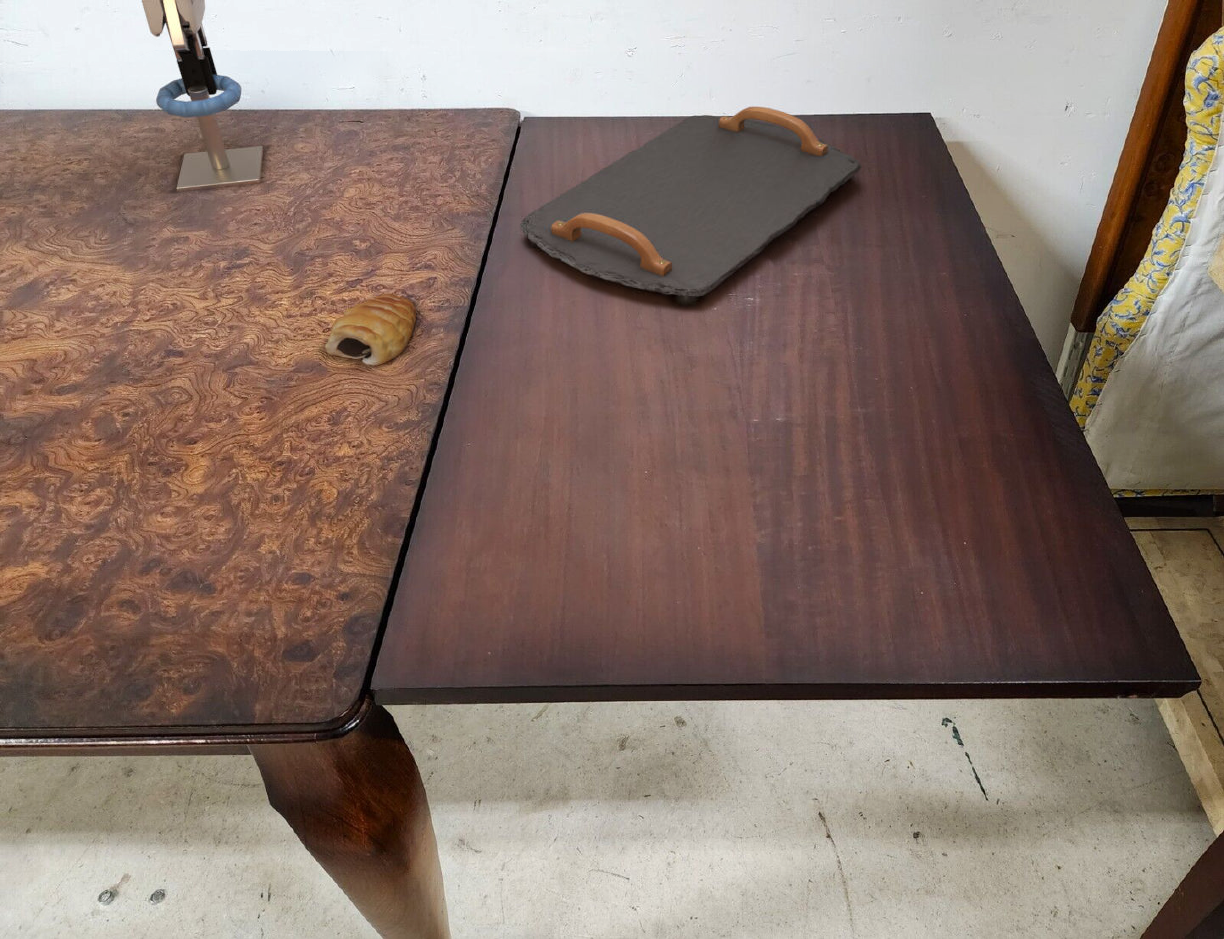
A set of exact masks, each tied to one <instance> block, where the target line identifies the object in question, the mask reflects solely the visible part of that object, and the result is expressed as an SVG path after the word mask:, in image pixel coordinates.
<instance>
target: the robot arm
mask: <svg viewBox="0 0 1224 939" xmlns="http://www.w3.org/2000/svg"><path fill="white" fill-rule="evenodd" d="M141 3H142V8H143V10H144V14H145V17H146V22H147V25H148V28H149V31H150V34H152V35H153V36H154V37H156V38H157V37H159V38H160V36H161V34H163V30H164V29H165V25H166V28H167V29H166V30H167V32H168V35H169V40H170V42H171V46H172V48H173V52H174V55H175V56H174V57H175V59H176V64H177V67H178V70H179V73H180V76H181V78H182V80H183V83H184V86H185V90H186V95H187V96H188V97H190V95H189V92H188V89H189V88H190V87H193V86H197V85H203V86H206V87H207V89H208V93H209V96H213V95H216V94H217V92H218V90H217V88H216V85H215V81H214V78H213V74H215V75H218V72H217V69H216V65H215V61H214V58H213V55H212V51H211V48H210V46H209V44H208V40H207V36H206V32H205V29H204V25H203V20H204V15H205V10H206V1H205V0H141ZM208 46H209V47H208Z"/></svg>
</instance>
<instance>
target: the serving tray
mask: <svg viewBox="0 0 1224 939" xmlns="http://www.w3.org/2000/svg"><path fill="white" fill-rule="evenodd" d="M761 121H763V122H761ZM861 169H862V165H861V162H859V161H858V160H857V159H856V158H855V157H853V155H850V154H847V153H845V152H844V151H842V150H840V149H839V148H838V147H835V146H834V145H831V144H829V143H827V142H826V141H824V140H822V139H818V138H817V137H816V135H815V134H814V132H813V130H812V129H811V128H810V126H809V125H808V124H807V123H806V122H805V121H803V120H802V119H800V118H798V117H796V116H794V115H792V114H790V113H787V112H784V111H781V110H778V109H774V108H771V107H764V106H748V107H745V108H743V109H741V110H740V111H738V112H737V113H735V114H734V115H733V116H726V115H722V116H714V115H710V114H704V115H691V116H689V117H687V118H685V119H684V120H682V121H680V122H679V123H677V124H675V125H673V126H671V127H670V128H668V129H667V130H666V131H663V132H661V133H660V134H658V135H657V136H654V137H653V138H651V139H649V141H647V142H646V143H644V144H643V145H642V146H640V147H638V148H636V149H634V150H632V151H630V152H628V153H627V154H625V155H624V156H622V157H621V158H619V159H618V160H615V161H613V162H612V163H610V165H608V166H606V167H603V168H602V169H600V170H599V171H598V172H596V173H594V174H592V175H591V176H589V177H588V178H587V179H585V180H584V181H581V182H580V183H578V184H576V185H575V186H574V187H572V188H570V189H568V190H566V191H564V192H563V193H562V194H560V195H558V196H557V197H555V198H554V199H551V200H550V201H549V202H546V203H545V204H543V205H542V206H541V207H539V208H538V209H535V210H534V211H532V212H530V213H528V214H527V215H526V216H525V217H524V218H522V220H521V222H520V224H519V228H520V230H521V231H522V233H523V234H524V235H525V237H527V239H528V240H529V241H530V246H531V247H533V248H536V249H540V250H542V251H543V252H544V253H545V254H547V255H548V256H550V257H552V258H554V259H557V260H559V261H560V262H563V263H564V264H566V265H567V266H570V267H571V268H573V269H575V270H577V271H579V272H581V273H583V274H585V275H588V276H591V277H594V278H597V279H601V280H604V281H607V282H611V283H615V284H619V285H622V286H626V287H628V288H629V287H630V288H633V289H636V290H643V291H646V292H647V291H648V292H656V293H659V294H662V295H674V299H675V303H676V304H677V305H679V306H681V307H691V306H694V305H696V304H697V303H698V300H699V297H703V296H706V295H707V294H709V293H710V292H712V291H713V290H714V289H715V288H717V287H718V286H720V285H721V284H722V283H723V282H724V281H725V280H727V279H728V278H729V277H730V276H731V275H733V274H734V273H736V272H737V271H738V270H739V269H742V267H743V266H744V265H745V264H747V263H748V262H749V261H750V260H752V259H754V258H756V257H758V255H760V254H761V252H762V251H763V250H764V249H765V248H766V247H767V246H768V245H769V244H770V243H771V242H772V241H773V240H774V239H776V238H778V237H779V236H781V235H783V234H785V233H786V232H787V231H789V230H790V229H791V228H794V227H795V225H796V224H797V223H798V221H800V220H801V219H803V218H805V216H806V215H807V214H808V213H809V212H811V211H812V210H814V209H816V208H817V207H818V206H820V205H822V204H823V203H824V202H825V201H826V200H827V198H828V197H829V196H830V194H831V193H833V192H836V191H837V190H838V188H841V187H844V186H845V184H846V183H847V182H848V181H849V180H850V179H851V178H853V177H854V176H855V175H856V174H857V173H859V171H860V170H861Z"/></svg>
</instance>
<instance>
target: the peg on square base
mask: <svg viewBox="0 0 1224 939" xmlns="http://www.w3.org/2000/svg"><path fill="white" fill-rule="evenodd" d="M188 92H189V95H190V96H189V99H190V101H199V100H205V99H208V98H211V95H209V93H208V89H207V87H206V86H203V85H197V86H193V87H190V88H189V89H188ZM195 118H196V121H197V124H198V128H199V130H200V134H201V137H202V140H203V143H204V147H205V150H206V151H197V152H196V151H195V152H189V153H184V155H183V158H182V163H181V168H180V171H179V176H178V180H177V183H176V192H177V193H179V192H187V191H196V190H206V189H215V188H217V189H218V188H225V187H233V186H234V187H235V186H244V185H245V186H246V185H254V184H260V183H261V177H262V166H263V157H264V147H263V145H257V146H247V147H236V148H229V149H228V148H227V149H226V147H225V144H224V140H223V136H222V133H221V129H220V126H219V123H218V120H217V117H216V113H215V114H212V115H209V116H200V117H195Z"/></svg>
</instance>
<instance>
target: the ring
mask: <svg viewBox="0 0 1224 939" xmlns="http://www.w3.org/2000/svg"><path fill="white" fill-rule="evenodd" d="M213 78H214V81H215V85H216V88H217V91H222V92H220V94H218V95H215V96H211V97H210V98H208V99H205V100H199V101H191V100H188V101H184V100H178V98H179V97H181V96H182V95H185V94H186V95H187V93H186V90H185V86H184V83H183V80H182V77H181V78H177V79H174V80H172V81H171V82H169V83H167V84H166V85H164V86H162V87H160V88H159V90H158V92H157V96H156V99H155V103H156V105H157V106H158V108H160V109H161V110H162V111H163V112H164V113H166V114H167V115H170V116H176V117H180V118H181V117H182V118H196V117H200V116H209V115H212V114H215V115H216V114H218V113H222V112H225V111H228V110H229V109H230V108H232V107H233V106H235V105H237V103H239V102H240V100H241V95H242V86H241V85H240V84H239V82H238V81H236V80H235V79H233V78H231V77H230V76H227V75H220V74H217V75H215V74H213Z"/></svg>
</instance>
